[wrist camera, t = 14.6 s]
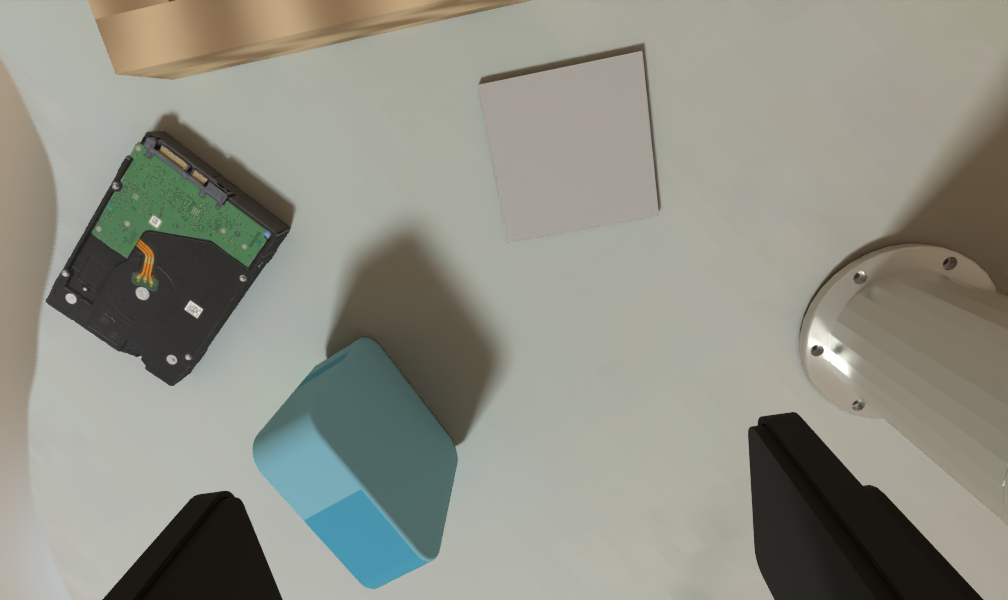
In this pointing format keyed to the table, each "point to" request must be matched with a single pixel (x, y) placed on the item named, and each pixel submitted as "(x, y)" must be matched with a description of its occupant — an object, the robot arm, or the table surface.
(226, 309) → the disk drive
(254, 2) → the socket block
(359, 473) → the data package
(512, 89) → the rubber mat
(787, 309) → the table surface
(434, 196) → the table surface
